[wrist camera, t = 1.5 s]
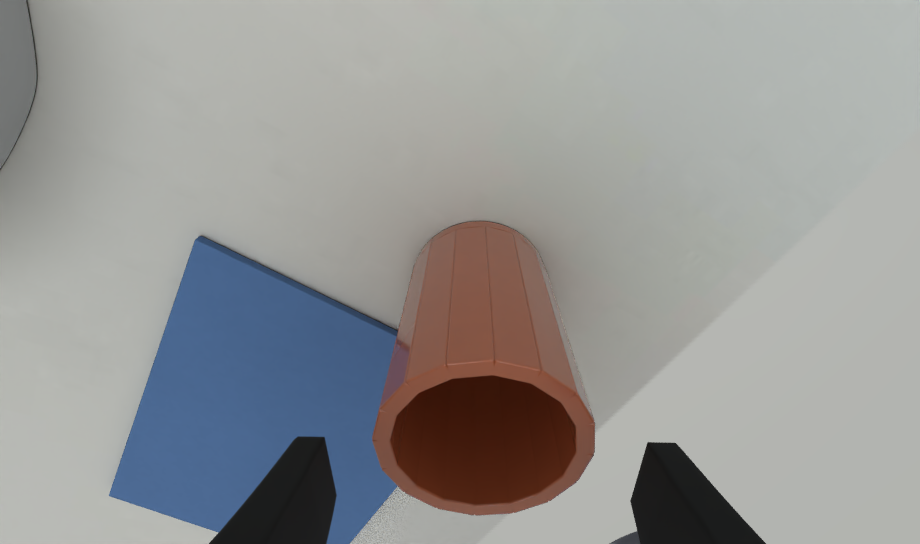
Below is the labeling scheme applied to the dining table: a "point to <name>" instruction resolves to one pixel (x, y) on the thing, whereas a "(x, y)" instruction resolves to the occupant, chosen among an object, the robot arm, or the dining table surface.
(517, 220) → the dining table surface
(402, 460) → the cup
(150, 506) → the towel
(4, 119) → the lumpy-topped squat cylinder
